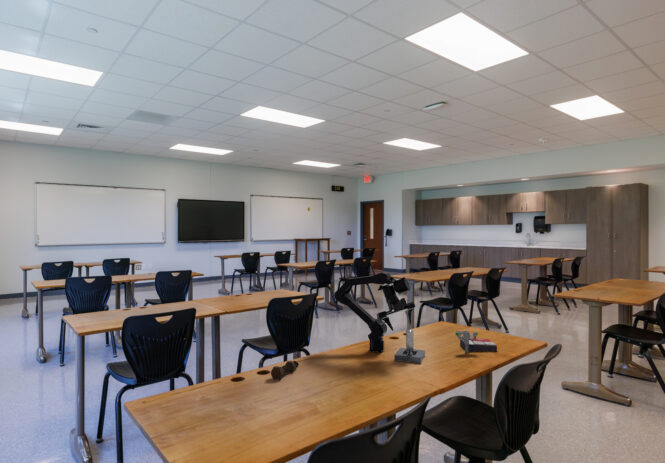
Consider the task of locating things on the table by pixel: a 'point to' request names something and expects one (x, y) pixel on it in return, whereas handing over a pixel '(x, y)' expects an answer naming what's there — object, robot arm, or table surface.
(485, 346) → the calculator
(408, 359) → the block
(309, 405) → the table surface
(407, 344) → the axle
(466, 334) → the mechanical component
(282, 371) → the dark brown knobby piece
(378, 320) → the robot arm
